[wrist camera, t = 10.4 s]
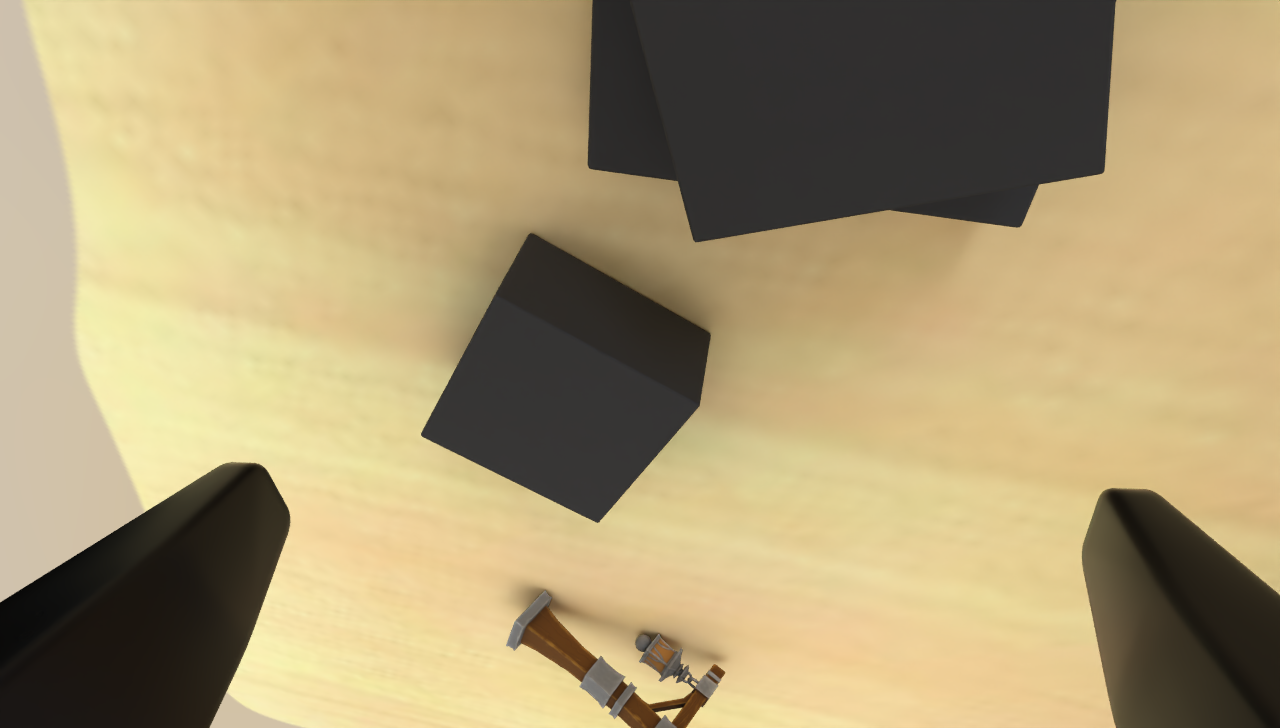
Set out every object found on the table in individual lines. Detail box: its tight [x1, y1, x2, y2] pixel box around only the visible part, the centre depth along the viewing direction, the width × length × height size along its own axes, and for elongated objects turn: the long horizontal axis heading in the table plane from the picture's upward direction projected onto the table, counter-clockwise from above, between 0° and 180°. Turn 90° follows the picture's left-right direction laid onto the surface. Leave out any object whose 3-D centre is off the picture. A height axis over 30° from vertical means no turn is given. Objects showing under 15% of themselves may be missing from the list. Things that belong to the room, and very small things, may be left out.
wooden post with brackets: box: [506, 590, 725, 728], centre depth 29 cm, size 2×8×4 cm, turn 73°
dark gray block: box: [421, 233, 711, 523], centre depth 21 cm, size 6×6×3 cm
